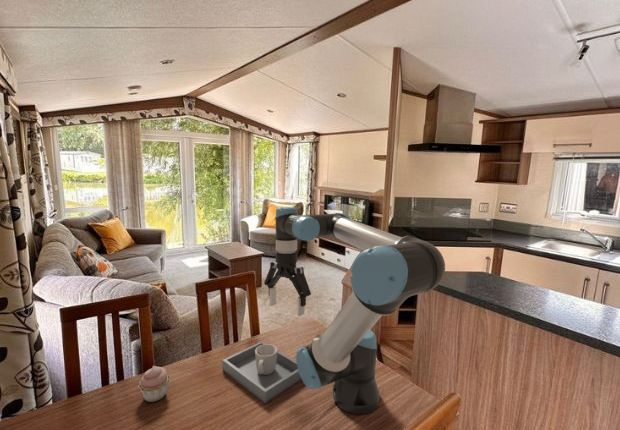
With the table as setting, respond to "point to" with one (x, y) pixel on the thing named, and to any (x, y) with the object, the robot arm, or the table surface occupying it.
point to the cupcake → (154, 384)
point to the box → (258, 384)
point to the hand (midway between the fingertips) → (286, 309)
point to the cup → (266, 358)
